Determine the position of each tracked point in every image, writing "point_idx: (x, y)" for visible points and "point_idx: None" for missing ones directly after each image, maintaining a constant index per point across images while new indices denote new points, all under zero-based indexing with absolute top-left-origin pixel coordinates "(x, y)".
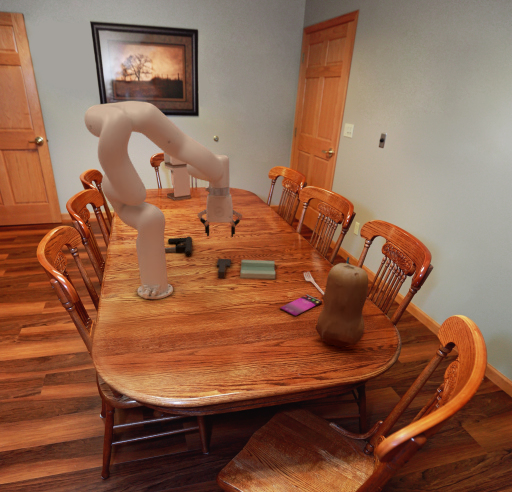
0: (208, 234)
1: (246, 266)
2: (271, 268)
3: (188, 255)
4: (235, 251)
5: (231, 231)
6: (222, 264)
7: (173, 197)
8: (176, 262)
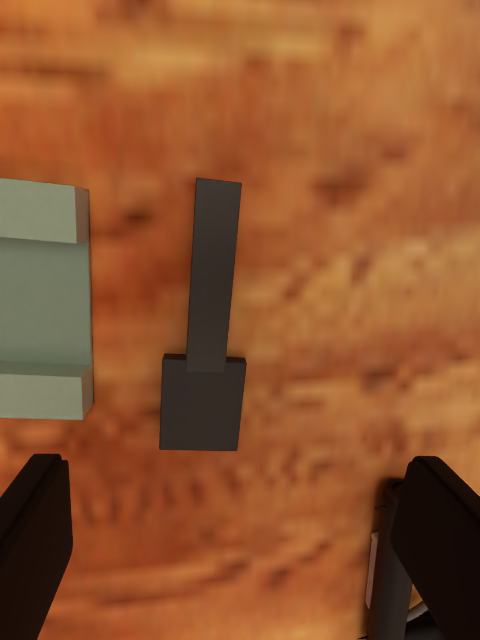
0: (428, 474)
1: (56, 363)
2: None
3: (396, 484)
4: (140, 566)
5: (12, 534)
6: (210, 315)
7: None
8: (458, 409)
